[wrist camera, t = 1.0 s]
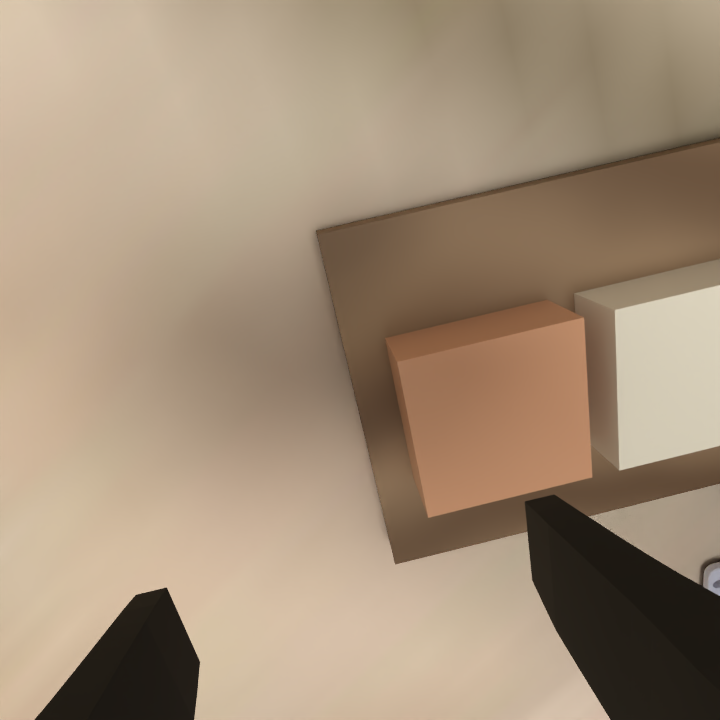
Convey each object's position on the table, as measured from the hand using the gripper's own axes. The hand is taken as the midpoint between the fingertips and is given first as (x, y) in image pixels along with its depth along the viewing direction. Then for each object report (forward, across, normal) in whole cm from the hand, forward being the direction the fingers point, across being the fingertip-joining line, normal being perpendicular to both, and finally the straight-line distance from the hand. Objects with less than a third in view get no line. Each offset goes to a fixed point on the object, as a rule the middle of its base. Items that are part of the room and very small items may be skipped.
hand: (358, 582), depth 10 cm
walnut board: (+10, -9, +1) cm, 14 cm away
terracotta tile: (+9, -5, +1) cm, 10 cm away
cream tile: (+9, -12, +1) cm, 15 cm away
